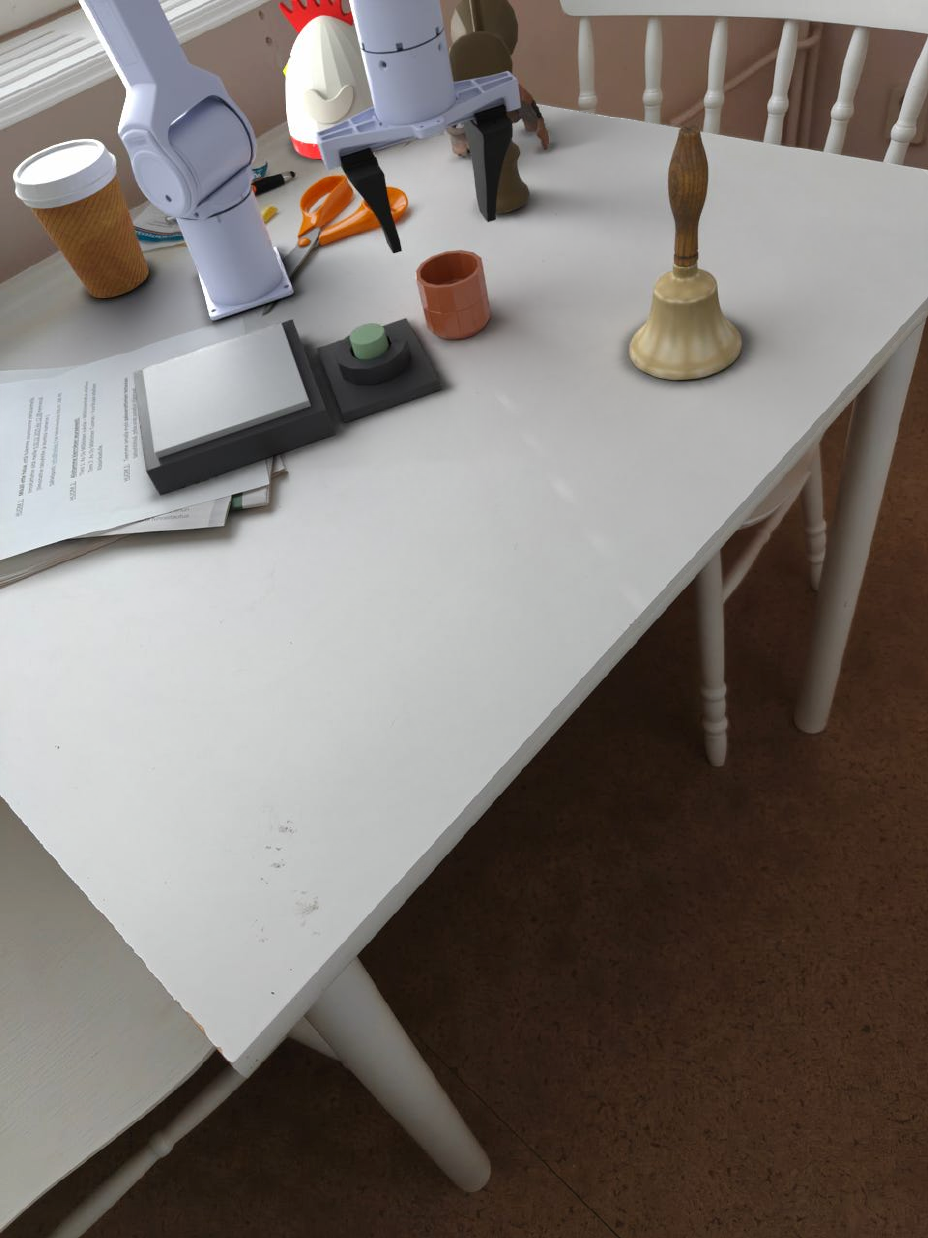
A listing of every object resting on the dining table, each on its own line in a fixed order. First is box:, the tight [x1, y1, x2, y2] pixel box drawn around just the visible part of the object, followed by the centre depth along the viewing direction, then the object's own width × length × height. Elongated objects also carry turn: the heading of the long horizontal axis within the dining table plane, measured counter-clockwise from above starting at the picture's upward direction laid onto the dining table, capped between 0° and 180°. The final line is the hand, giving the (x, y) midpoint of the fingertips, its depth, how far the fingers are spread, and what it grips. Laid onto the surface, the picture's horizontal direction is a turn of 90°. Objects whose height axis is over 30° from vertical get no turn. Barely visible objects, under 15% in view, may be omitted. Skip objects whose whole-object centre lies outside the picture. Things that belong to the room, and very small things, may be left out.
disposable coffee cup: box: [12, 138, 150, 299], centre depth 89 cm, size 10×10×12 cm
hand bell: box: [628, 124, 743, 381], centre depth 64 cm, size 8×8×16 cm
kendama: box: [448, 0, 530, 214], centre depth 82 cm, size 6×10×20 cm, turn 176°
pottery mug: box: [445, 83, 550, 157], centre depth 96 cm, size 12×10×8 cm
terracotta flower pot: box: [414, 249, 492, 341], centre depth 76 cm, size 5×6×5 cm
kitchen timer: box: [278, 0, 374, 160], centre depth 101 cm, size 14×14×15 cm
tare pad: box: [316, 317, 443, 423], centre depth 74 cm, size 10×8×2 cm
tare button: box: [349, 323, 389, 359], centre depth 73 cm, size 3×3×2 cm
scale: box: [132, 318, 336, 496], centre depth 74 cm, size 14×14×3 cm
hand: (441, 231), depth 71 cm, fingers open, 7 cm apart
